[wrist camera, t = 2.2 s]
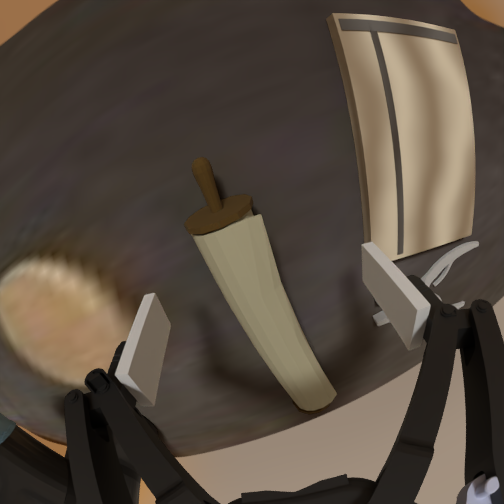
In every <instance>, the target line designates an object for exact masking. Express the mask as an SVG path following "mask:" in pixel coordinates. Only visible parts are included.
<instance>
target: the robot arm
mask: <svg viewBox="0 0 504 504" xmlns="http://www.w3.org/2000/svg"><path fill="white" fill-rule="evenodd" d="M361 245H362V277H363V282H364V284H365V285H366V287H367V288H368V290H369V291H370V292H371V294H372V295H373V297H374V298H375V300H376V301H377V303H378V304H379V306H380V307H381V309H382V310H383V312H384V313H385V315H386V316H387V318H388V319H389V321H390V322H391V324H392V325H393V327H394V328H395V330H396V331H397V333H398V334H399V336H400V338H401V339H402V341H403V342H404V344H405V346H406V347H407V349H408V350H409V351H410V350H413V349H415V348H418V347H420V346H421V345H422V341H423V338H424V339H425V341H426V342H427V345H426V349H425V352H424V355H423V361H422V365H421V369H420V372H419V376H418V379H417V382H416V386H415V389H414V392H413V395H412V398H411V401H410V404H409V407H408V410H407V413H406V415H405V418H404V421H403V423H402V426H401V429H400V431H399V434H398V436H397V438H396V441H395V443H394V445H393V448H392V450H391V452H390V455H389V457H388V459H387V461H386V463H385V465H384V466H383V468H382V470H381V472H380V474H379V476H378V478H377V480H376V482H374V481H372V480H368V479H364V478H347V474H344V475H341V476H337V477H333V478H330V479H326V480H322V481H319V482H317V483H315V484H312V485H311V486H308V487H306V488H304V489H301V490H299V491H296V492H280V491H259V492H249V493H241V497H242V498H239V499H236V500H234V501H232V502H230V503H228V504H417V503H415V502H414V500H415V498H416V496H417V494H418V492H419V490H420V487H421V485H422V483H423V480H424V478H425V475H426V473H427V471H428V468H429V465H430V462H431V460H432V457H433V453H434V448H433V447H434V443H435V440H436V436H437V433H438V430H439V427H440V423H441V419H442V416H443V412H444V408H445V404H446V400H447V396H448V391H449V386H450V381H451V376H452V370H453V364H454V358H455V351H456V349H460V354H461V362H462V370H463V377H464V388H465V406H466V453H465V486H464V487H463V488H462V489H461V491H460V492H459V494H458V496H457V503H456V504H504V342H503V338H502V335H501V332H500V328H499V325H498V322H497V319H496V316H495V313H494V310H493V307H492V306H491V304H490V303H489V302H488V301H485V300H482V299H478V300H475V301H473V302H472V304H471V307H470V308H469V309H461V310H458V309H457V308H456V307H455V306H453V305H451V304H443V302H442V301H441V300H440V299H439V298H438V297H437V296H436V295H435V294H434V293H433V291H432V290H431V289H429V287H428V286H427V285H426V284H425V283H424V282H423V281H422V280H421V279H420V278H418V277H416V276H414V275H410V276H407V277H406V276H405V275H404V274H403V273H402V272H401V271H400V270H399V269H398V268H397V267H396V266H395V264H394V263H393V262H392V261H391V260H390V259H389V258H388V257H387V256H386V255H385V254H384V253H383V252H382V251H381V250H380V249H379V248H378V247H377V246H376V245H375V244H374V243H373V242H369V243H365V244H361ZM170 328H171V324H170V322H169V320H168V318H167V316H166V314H165V312H164V310H163V308H162V306H161V304H160V302H159V300H158V298H157V296H156V294H155V293H152V294H147V295H144V298H143V300H142V303H141V305H140V308H139V310H138V313H137V315H136V318H135V320H134V323H133V325H132V328H131V331H130V333H129V336H128V339H127V341H123V342H121V343H120V345H119V346H118V347H117V349H116V351H115V354H114V357H113V359H112V362H111V365H110V368H109V370H108V373H107V374H106V372H105V371H104V370H103V369H100V368H98V369H94V370H92V371H91V372H90V373H88V375H87V376H86V378H85V385H86V386H87V387H88V388H89V390H90V391H91V392H89V393H86V394H83V393H82V392H81V391H80V390H78V389H75V390H72V391H70V392H69V393H68V394H67V395H66V397H65V401H64V405H65V424H66V436H67V450H66V454H65V457H63V456H61V455H60V454H58V453H56V452H55V451H53V450H51V449H50V448H48V447H47V446H45V445H44V444H42V443H41V442H39V441H38V440H36V439H35V438H33V437H32V436H31V435H29V434H28V433H26V432H25V431H23V430H22V429H21V428H20V427H18V426H17V425H16V423H15V422H14V421H12V420H9V419H8V418H6V417H5V416H4V415H2V414H1V413H0V504H139V490H140V481H141V478H142V480H143V481H144V482H145V484H146V485H147V487H148V488H149V489H150V491H151V492H152V493H153V495H154V496H155V498H156V501H155V503H156V504H220V503H219V502H217V501H216V500H215V499H214V498H212V497H211V496H210V495H209V494H208V493H207V492H206V491H205V490H204V489H203V488H202V487H201V486H200V485H199V484H198V483H197V482H196V481H195V480H194V479H193V478H192V477H191V475H190V474H189V473H188V472H187V471H186V470H185V469H184V468H183V467H182V465H181V464H180V463H179V462H178V461H177V460H176V458H175V457H174V456H173V455H172V454H171V453H170V451H169V450H168V449H167V448H166V446H165V445H164V444H163V443H162V441H161V440H160V439H159V438H158V436H157V430H156V428H155V427H154V425H153V424H152V423H151V422H150V421H148V420H147V419H146V418H144V417H143V416H142V414H141V413H140V412H139V410H138V409H137V408H136V407H135V405H136V401H137V402H138V403H139V404H140V405H141V406H142V407H146V406H154V405H155V400H156V395H157V389H158V384H159V379H160V374H161V369H162V364H163V360H164V355H165V350H166V346H167V341H168V337H169V332H170Z"/></svg>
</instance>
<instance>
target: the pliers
mask: <svg viewBox="0 0 504 504" xmlns="http://www.w3.org/2000/svg"><path fill="white" fill-rule="evenodd" d="M478 245H479V242H478V241H473V242H467V243H464V244H462V245H460V246H457V247H456V248H454V249H452V250H451V251H449V252H448V253H446V254H445V255H444V256H443V257H441V258H440V259H439V260H438V261H437V262H436V263H435V264H434V265H433V266H432V267H431V268H430V269H429V271H428V272H427V273H426V274H425V275H424V276H423V277H422V278H421V280H422V281H423V282H424V283H425V284H426V285H427V286H428V287H429V286H430V284H431V282H432V281H433V280H434V279H435V278H436V277H437V275H438V274H439V273H440V272H441V271H442V270H443V269H444V268H445V267H446V268H445V270H444V271H443V273H442V275H441V276H440V277H439V278H438V279H437V280H436V281H435V282H434V283H433V285H434V286H436V285H437V284H438V283H439V282H440V281H441V280H442V279H443V278H444V277H445V275H446V274H447V272H448V271H449V269H450V267H451V264H452V263H453V261H454V260H455V259H456V258H458V257H459V256H461V255H462V254H464V253H465V252H467V251H469V250H471V249H473V248H475V247H477V246H478ZM434 294H435V293H434ZM435 295H436V296H437V297H438V298H439V299H440V300H441V298H440V297H439V296H438V295H437V294H435ZM374 300H375V298H374ZM375 301H376V300H375ZM441 301H442V300H441ZM376 302H377V301H376ZM464 303H465V302H464V301H463V302H460V303H456V304H452V305H453V306H455V307H456V308H457V309H459V308H460V307H462V306H464ZM377 304H378V303H377ZM378 305H379V304H378ZM373 320H374V321H375V323H376V324H377V326H381V325H384V324H386V323H389V322H390V321H389V319H388V318H387V316H386V315H385V313H384V312H383V311H381V312H379V313H377V314H375V315H373Z"/></svg>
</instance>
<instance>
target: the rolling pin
mask: <svg viewBox="0 0 504 504" xmlns="http://www.w3.org/2000/svg"><path fill="white" fill-rule="evenodd" d="M192 172H193V175H194V177H195V179H196V181H197V183H198V185H199V187H200V189H201V191H202V193H203V195H204V197H205V200H206V202H207V204H208V205H207V206H205V207H203V208H201V209H200V210H198V211H197V212H196V213H194V214H193V215H191V216H190V217H189V218H188V219H187V221H186V222H185V223H184V226H185V228H186V230H187V231H188V233H189V234H192V236H193V238H194V240H195V242H196V244H197V246H198V248H199V250H200V252H201V254H202V256H203V258H204V260H205V262H206V263H207V265H208V267H209V269H210V271H211V273H212V275H213V277H214V278H215V280H216V282H217V284H218V286H219V288H220V290H221V291H222V293H223V295H224V297H225V299H226V300H227V302H228V304H229V306H230V307H231V309H232V311H233V312H234V314H235V316H236V317H237V319H238V320H239V322H240V324H241V325H242V327H243V329H244V330H245V332H246V334H247V335H248V337H249V338H250V340H251V342H252V343H253V345H254V346H255V348H256V349H257V351H258V352H259V354H260V355H261V357H262V358H263V360H264V361H265V363H266V364H267V365H268V367H269V368H270V370H271V371H272V373H273V374H274V375H275V377H276V378H277V380H278V381H279V382H280V384H281V385H282V386H283V388H284V389H285V390H286V391H287V393H288V394H289V395H290V397H291V398H292V399H293V404H294V406H295V407H296V408H297V409H298V410H299V412H303V413H306V414H314V413H319V412H321V411H323V410H324V409H325V408H327V407H328V406H329V405H330V403H331V402H332V401H333V399H334V398H335V396H336V395H337V393H336V391H335V390H334V388H333V387H332V385H331V383H330V382H329V380H328V379H327V377H326V375H325V374H324V372H323V370H322V369H321V367H320V365H319V363H318V361H317V360H316V358H315V356H314V354H313V352H312V350H311V348H310V346H309V343H308V341H307V339H306V337H305V335H304V333H303V331H302V329H301V327H300V324H299V322H298V320H297V318H296V315H295V313H294V311H293V308H292V306H291V304H290V302H289V299H288V297H287V295H286V292H285V290H284V288H283V286H282V283H281V280H280V277H279V273H278V270H277V266H276V263H275V260H274V256H273V253H272V249H271V246H270V243H269V239H268V236H267V232H266V229H265V226H264V222H263V219H262V216H261V214H259V215H256V216H254V215H253V213H252V210H251V209H252V205H253V200H252V197H251V196H248V195H245V194H243V195H235V196H230V197H228V198H225V199H223V200H220V197H219V193H218V190H217V187H216V183H215V179H214V175H213V171H212V167H211V164H210V162H209V161H208V160H207V159H206V158H204V157H200V158H197V159H196V160H194V161H193V163H192Z"/></svg>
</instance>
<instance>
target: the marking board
mask: <svg viewBox="0 0 504 504" xmlns="http://www.w3.org/2000/svg"><path fill="white" fill-rule="evenodd" d="M326 21H327V24H328V28H329V31H330V34H331V38H332V41H333V45H334V48H335V52H336V56H337V60H338V64H339V68H340V72H341V76H342V80H343V85H344V89H345V94H346V99H347V104H348V109H349V114H350V120H351V125H352V131H353V138H354V144H355V151H356V158H357V166H358V174H359V183H360V192H361V203H362V215H363V230H364V244H365V243H369V242H373V243H374V244H375V245H376V246H377V247H378V248H379V249H380V250H381V251H382V252H383V253H384V254H385V255H386V256H387V257H388V258H389V259H390V260H391V261H393V260H397V259H400V258H403V257H406V256H409V255H413V254H416V253H419V252H422V251H425V250H428V249H431V248H434V247H437V246H440V245H443V244H446V243H449V242H452V241H455V240H458V239H461V238H464V237H467V236H470V235H471V233H472V224H473V213H474V198H475V143H474V128H473V117H472V109H471V101H470V94H469V88H468V82H467V77H466V72H465V67H464V62H463V58H462V54H461V50H460V46H459V42H458V39H457V35H456V32H455V30H452V29H448V28H444V27H440V26H436V25H432V24H427V23H422V22H417V21H412V20H406V19H399V18H392V17H384V16H374V15H362V14H340V13H332V14H331V15H330V16H329V17H328V18H327V19H326Z"/></svg>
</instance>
